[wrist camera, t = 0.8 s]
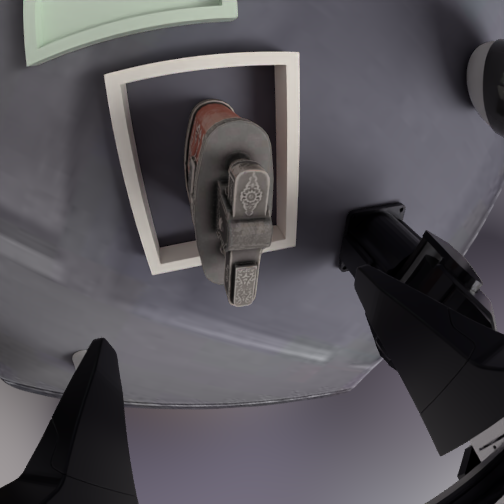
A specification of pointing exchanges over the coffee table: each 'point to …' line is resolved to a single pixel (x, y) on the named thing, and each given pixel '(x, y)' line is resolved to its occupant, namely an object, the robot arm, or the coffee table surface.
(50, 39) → the tray
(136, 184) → the white picture frame
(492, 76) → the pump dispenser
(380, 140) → the coffee table surface
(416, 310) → the robot arm
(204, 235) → the lighter
